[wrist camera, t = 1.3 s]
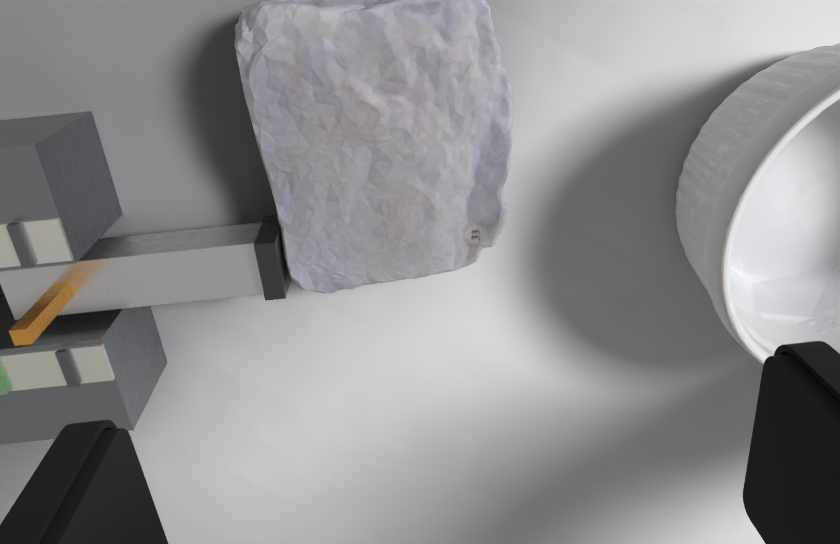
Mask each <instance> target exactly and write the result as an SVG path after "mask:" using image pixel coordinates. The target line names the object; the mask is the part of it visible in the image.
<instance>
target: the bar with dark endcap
mask: <svg viewBox="0 0 840 544" xmlns="http://www.w3.org/2000/svg"><path fill="white" fill-rule="evenodd" d="M290 279H291V278H290V275H289V272H288V268H287V263H286V260H285V257H284V249H283V241H282V233H281V227H280V224H279V221H278V216H277V215H273V216H265V218H264V220H263V222H260V223H250V224H240V225H231V226H221V227H211V228H202V229H192V230H182V231H173V232H163V233H153V234H144V235H134V236H124V237H115V238H105V239H98V240H97V241H96V243H95V244H94V245H93V246H92V247H91V248H90V249H89V250H88V251H87V252H86V253H85V254H84V255H83V256H82V257H81V258H80V259H79V261H78V262H77V263H76V264H67V265H58V266H48V267H38V268H29V269H19V270H10V271H0V284H1V287H2V289H3V292H4V294H5V297H6V299H7V302H8V304H9V307H10V309H11V311H12V314H13V316H14V319H15V320H19V321H18V322H17V323H16V324H15V325H14V326H13V327H12V328H11V329H10V330H9V333H10V336H11V338H12V340H13V343H14V345H15V346H18V345H28V344H33V343H34V341H35V340H36V339H37V338H38V337H39V336H40V334H41V333H42V332H43V331H44V330H45V329H46V328H47V326H48V325H49V324H50V323H51V322H52V321H53V319H54V318H55V317H56V316H57V315H66V314H76V313H85V312H95V311H104V310H114V309H123V308H133V307H142V306H152V305H161V304H171V303H180V302H190V301H199V300H209V299H218V298H228V297H237V296H247V295H256V294H264V296H265V300H274V299H283V298H286V295H287V291H288V287H289V283H290Z"/></svg>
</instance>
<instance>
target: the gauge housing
mask: <svg viewBox="0 0 840 544" xmlns="http://www.w3.org/2000/svg"><path fill="white" fill-rule="evenodd" d="M121 215H122V211H121V208H120V205H119V202H118V198H117V195H116V192H115V188H114V185H113V182H112V178H111V175H110V172H109V168H108V165H107V162H106V158H105V155H104V152H103V149H102V145H101V142H100V139H99V135H98V132H97V129H96V125H95V122H94V119H93V115H92V112H81V113H71V114H61V115H51V116H41V117H31V118H21V119H11V120H2V121H0V271H10V270H19V269H29V268H38V267H48V266H58V265H67V264H76V263H77V262H78V261H79V259H80V258H81V257H82V256H83V255H84V254H85V253H86V252H87V251H88V250H89V249H90V248H91V247H92V246H93V245H94V244H95V243H96V241H97V240H98V239H99V238H100V237H101V236H102V235H103V234H104V233H105V232H106V231H107V230H108V229H109V228H110V227H111V226H112V225H113V223H114V222H115V221H116V220H117V219H118V218H119V217H120V216H121ZM18 321H19V320H15V319H14V316H13V314H12V311H11V309H10V307H9V304H8V302H7V299H6V297H5V295H0V444H9V443H18V442H27V441H37V440H46V439H55V438H57V436H58V435H59V433H60V432H61V430H62V429H63V428H64V427H65V426H66V425H68V424H72V423H81V422H90V421H99V420H111V421H112V422H113V423H114V424H115V425H116V427H117V429H118V428H124V429H126V430H127V431H129V430H134V428H135V426H136V424H137V422H138V420H139V418H140V416H141V414H142V412H143V410H144V408H145V406H146V404H147V402H148V400H149V398H150V396H151V394H152V392H153V390H154V388H155V386H156V384H157V382H158V380H159V378H160V376H161V374H162V372H163V370H164V368H165V366H166V364H167V361H166V357H165V354H164V351H163V347H162V344H161V341H160V337H159V334H158V331H157V327H156V324H155V321H154V317H153V314H152V311H151V308H150V306H142V307H133V308H123V309H114V310H104V311H95V312H85V313H76V314H66V315H57V316H56V317H55V318H54V319H53V321H52V322H51V323H50V324H49V325H48V326H47V328H46V329H45V330H44V331H43V332H42V333H41V334H40V336H39V337H38V338H37V339H36V340H35V341H34V343H33V344H28V345H18V346H15V345H14V343H13V340H12V338H11V336H10V333H9V330H10V329H11V328H12V327H13V326H14V325H15V324H16V323H17V322H18Z"/></svg>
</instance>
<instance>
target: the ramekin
mask: <svg viewBox="0 0 840 544" xmlns="http://www.w3.org/2000/svg"><path fill="white" fill-rule="evenodd" d="M676 202H677V204H676V210H675V214H676V218H677V230H678V232H679V236H680V241H681V244H682V246H683V248H684V250H685V255H686V257H687V259H688V261H689V263H690V264H691V266H692V268H693V269H694V271H695V272H696V274H697V276H698V278H699V279H700V281H701V282H702V284H703V285H704V287H705V288H706V290H707V291H708V293H709V294H710V298H711V300H712V303H713V305H714V308H715V311H716V313H717V315H718V317H719V318H720V320H721V322H722V323H723V325H724V326H725V328H726V329H727V331H728V332H729V333H730V335H731V336H732V337H733V338H734V339H735V340H736V341H737V342H738V343H739V344H740V345H741V346H742V347H743V348H744V349H745V350H746V351H747V352H748V353H749V354H750V355H751V356H752V357H753V358H755V359H756V360H757V361H758V362H759V363H761V364H762V365H764V362H765V360H766V358H767V357H769V356H774V353H775V350H776V349H777V348H778V347H779V346H781V345H784V344H793V343H802V342H811V341H824V342H825V343H827V344H829V345H830V346H831V347H832V348H833V349H835V350H836V351H837V352H838V353H839V354H840V44H836V45H833V46H822V47H817V48H814V49H812V50H809V51H805V52H799V53H797V54H794V55H792V56H790V57H788V58H786V59H784V60H781V61H778V62H776V63H774V64H773V65H771V66H770V67H768V68H767V69H764V70H762V71H760V72H758V73H756V74H755V75H754V76H753V77H751V78H750V79H749V80H747V81H746V82H744V83H743V84H741V85H740V86H739V87H738V88H737V89H736V90H735V91H734V92H733V93H731V94H730V95H729V96H728V97H727V98H725V100H724V101H723V102H722V103H721V104H720V106H719V107H718V108H717V109H716V110H714V111H713V113H712V114H711V116H710V117H709V119H708V120H707V122H706V123H705V124H704V125H703V126H702V128H701V129H700V132H699V134H698V136H697V138H696V139H695V140H694V142H693V143H692V145H691V147H690V150H689V153H688V155H687V157H686V159H685V161H684V163H683V170H682V173H681V176H680V178H679V187H678V190H677V194H676Z"/></svg>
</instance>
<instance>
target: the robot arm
mask: <svg viewBox="0 0 840 544" xmlns="http://www.w3.org/2000/svg"><path fill="white" fill-rule="evenodd" d="M743 502H744V506H745V510H746V512H747V515H748V517H749V518H750V520H751V522H752V523H753V525H754V526H755V528H756V529H757V531H758V532H759V534H760V536H761V537H762V539H763V540H764V542H765V543H766V544H840V354H839V353H838V352H837V351H836V350H835V349H833V348H832V347H831V346H830V345H829V344H827V343H825V342H824V341H811V342H802V343H793V344H784V345H781V346H779V347H778V348H777V349H776V350H775V353H774V356H769V357H767V358H766V360H765V362H764V365H763V371H762V378H761V384H760V390H759V396H758V402H757V409H756V415H755V421H754V427H753V433H752V440H751V446H750V452H749V458H748V464H747V471H746V477H745V483H744V489H743ZM0 544H168V542H167V539H166V536H165V533H164V530H163V527H162V525H161V522H160V519H159V516H158V513H157V510H156V508H155V505H154V502H153V499H152V496H151V494H150V491H149V488H148V485H147V482H146V479H145V477H144V474H143V471H142V468H141V465H140V463H139V460H138V457H137V454H136V451H135V448H134V446H133V443H132V440H131V437H130V435H129V433H128V431H127V430H126V429H124V428H118V429H117V427H116V425H115V424H114V423H113V422H112V421H111V420H99V421H90V422H81V423H72V424H68V425H66V426H65V427H64V428H63V429H62V430H61V432H60V433H59V435H58V436H57V438H56V439H55V441H54V443H53V444H52V446H51V447H50V449H49V450H48V452H47V453H46V455H45V456H44V458H43V460H42V461H41V463H40V464H39V466H38V467H37V469H36V470H35V472H34V474H33V475H32V477H31V478H30V480H29V481H28V483H27V484H26V486H25V488H24V489H23V491H22V492H21V494H20V495H19V497H18V498H17V500H16V502H15V503H14V505H13V506H12V508H11V509H10V511H9V512H8V514H7V515H6V517H5V519H4V520H3V522H2V523H1V525H0Z"/></svg>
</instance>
